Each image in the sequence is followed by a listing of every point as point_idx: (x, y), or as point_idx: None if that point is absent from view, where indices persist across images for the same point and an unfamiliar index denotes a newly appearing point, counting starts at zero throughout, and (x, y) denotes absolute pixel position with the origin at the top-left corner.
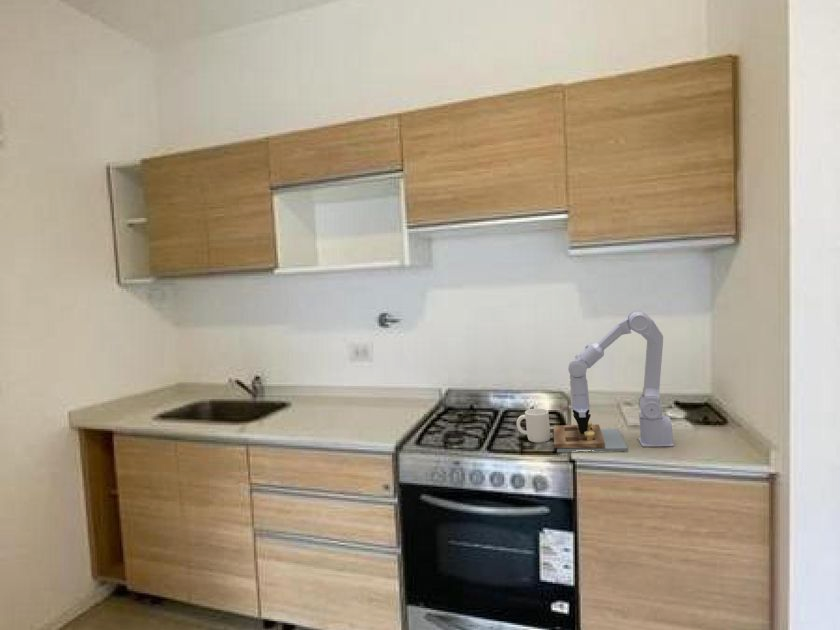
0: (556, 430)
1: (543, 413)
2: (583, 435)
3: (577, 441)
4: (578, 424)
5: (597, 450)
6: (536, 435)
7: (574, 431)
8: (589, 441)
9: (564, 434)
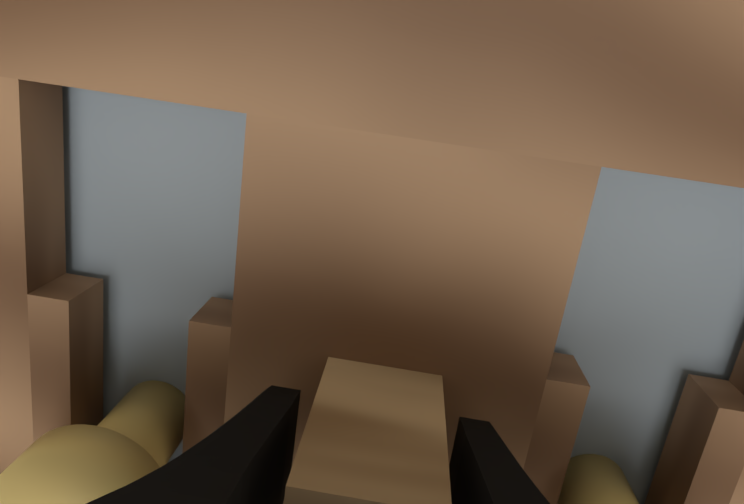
0: (699, 6)
1: None
2: None
3: (23, 267)
4: (156, 480)
5: None
6: None
7: (524, 326)
8: (22, 422)
9: (404, 126)
